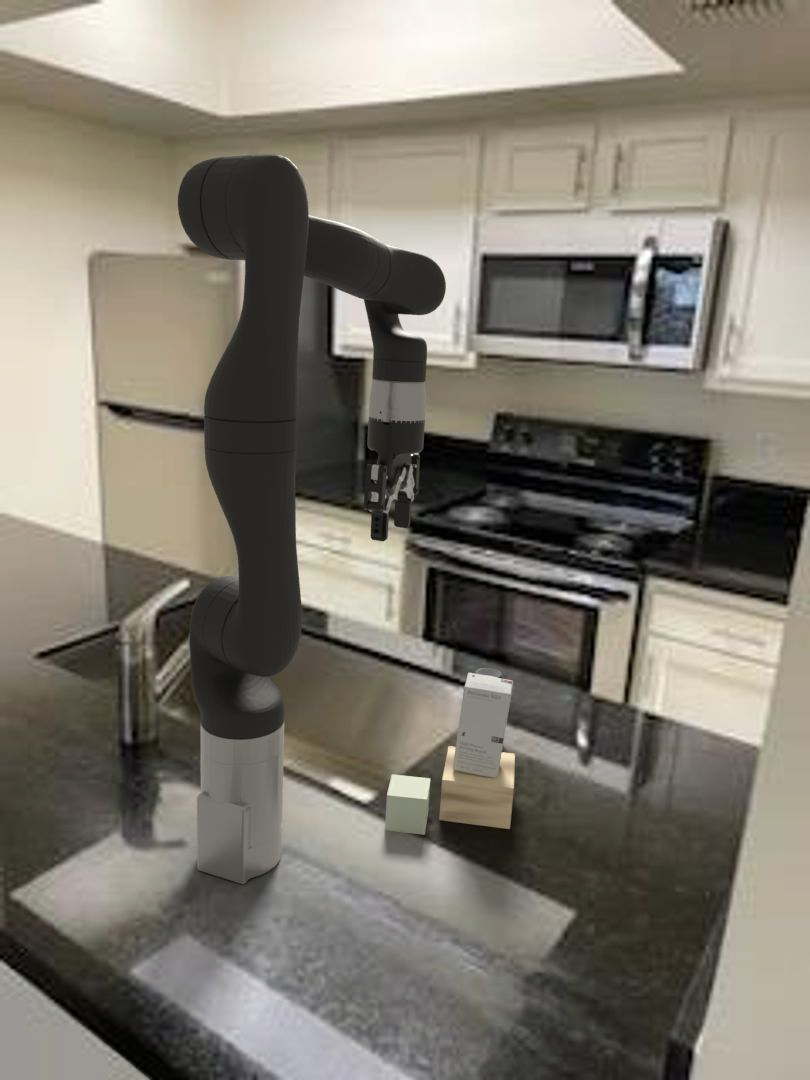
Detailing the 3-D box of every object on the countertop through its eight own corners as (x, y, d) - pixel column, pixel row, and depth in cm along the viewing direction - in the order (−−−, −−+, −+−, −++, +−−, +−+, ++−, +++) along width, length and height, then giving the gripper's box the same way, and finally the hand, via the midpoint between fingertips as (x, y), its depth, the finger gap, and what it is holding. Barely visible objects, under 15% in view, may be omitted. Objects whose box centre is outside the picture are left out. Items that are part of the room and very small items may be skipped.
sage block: (424, 835, 104) (427, 799, 103) (384, 830, 104) (386, 795, 103) (428, 813, 109) (430, 778, 108) (389, 808, 109) (391, 774, 108)
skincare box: (451, 771, 108) (461, 686, 104) (456, 752, 112) (465, 671, 108) (499, 779, 107) (511, 695, 103) (502, 760, 111) (513, 678, 107)
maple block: (509, 830, 106) (513, 788, 105) (439, 821, 107) (442, 779, 106) (511, 793, 115) (514, 753, 113) (445, 785, 116) (448, 745, 115)
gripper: (390, 408, 119) (384, 520, 123) (348, 416, 106) (344, 540, 110) (440, 413, 117) (433, 526, 121) (404, 422, 104) (397, 549, 108)
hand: (390, 533), depth 115 cm, fingers open, 8 cm apart
